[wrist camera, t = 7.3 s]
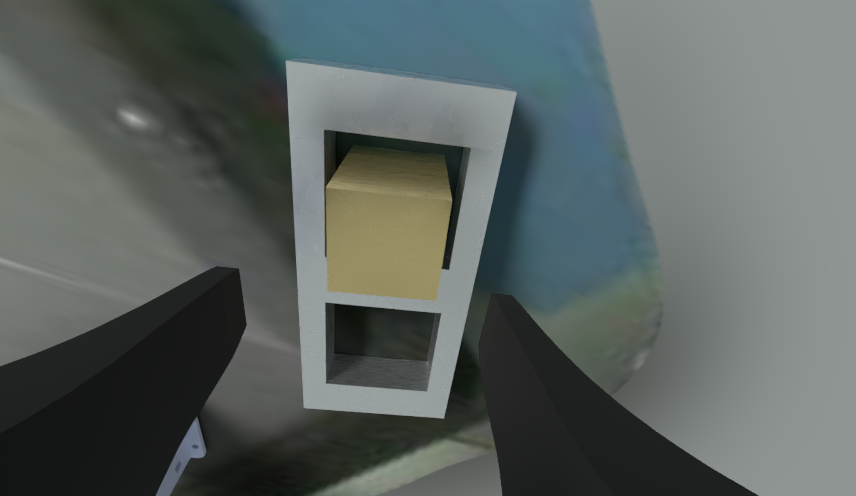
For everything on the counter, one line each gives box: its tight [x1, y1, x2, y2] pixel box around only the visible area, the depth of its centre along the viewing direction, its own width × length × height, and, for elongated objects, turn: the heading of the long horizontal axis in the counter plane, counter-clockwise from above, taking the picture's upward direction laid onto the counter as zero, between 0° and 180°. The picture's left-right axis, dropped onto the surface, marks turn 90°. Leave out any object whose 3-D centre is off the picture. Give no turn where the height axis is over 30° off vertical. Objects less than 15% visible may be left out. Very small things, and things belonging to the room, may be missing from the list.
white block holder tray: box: [286, 57, 517, 418], centre depth 21 cm, size 20×9×2 cm, turn 173°
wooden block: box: [326, 145, 452, 301], centre depth 17 cm, size 4×4×6 cm
